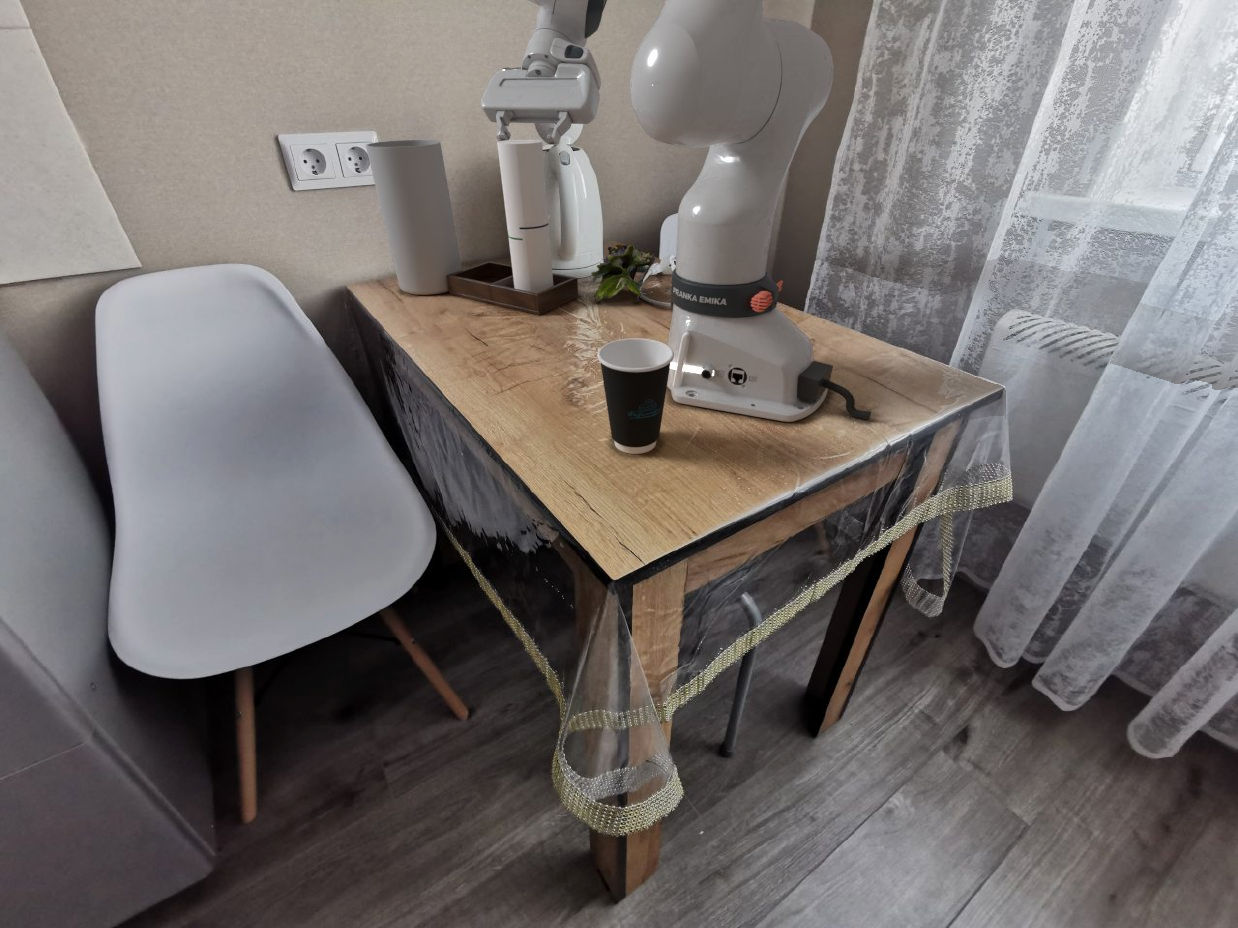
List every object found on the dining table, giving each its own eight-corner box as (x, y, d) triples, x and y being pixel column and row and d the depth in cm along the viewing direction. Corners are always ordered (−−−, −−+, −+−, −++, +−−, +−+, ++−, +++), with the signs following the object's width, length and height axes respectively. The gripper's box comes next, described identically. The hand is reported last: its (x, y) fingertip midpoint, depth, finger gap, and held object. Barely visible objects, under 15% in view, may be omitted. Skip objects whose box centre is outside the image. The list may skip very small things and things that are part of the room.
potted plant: (618, 318, 111) (640, 260, 110) (652, 324, 103) (676, 261, 102) (573, 294, 104) (596, 232, 103) (606, 298, 96) (631, 231, 95)
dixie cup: (646, 470, 59) (648, 376, 53) (586, 448, 63) (581, 357, 57) (682, 436, 65) (688, 347, 58) (625, 418, 68) (624, 332, 62)
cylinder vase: (390, 285, 113) (355, 143, 99) (447, 273, 119) (422, 138, 105) (415, 300, 105) (381, 149, 91) (475, 286, 111) (452, 143, 97)
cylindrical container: (551, 302, 101) (538, 143, 87) (512, 302, 101) (493, 144, 87) (556, 289, 107) (544, 139, 92) (519, 290, 107) (501, 140, 93)
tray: (578, 296, 106) (577, 277, 104) (539, 315, 98) (537, 295, 96) (491, 278, 116) (489, 261, 114) (449, 294, 108) (446, 275, 106)
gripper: (487, 52, 94) (463, 125, 92) (599, 49, 87) (575, 127, 85) (505, 84, 99) (482, 152, 98) (610, 83, 93) (588, 157, 91)
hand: (526, 141), depth 91 cm, fingers open, 8 cm apart
